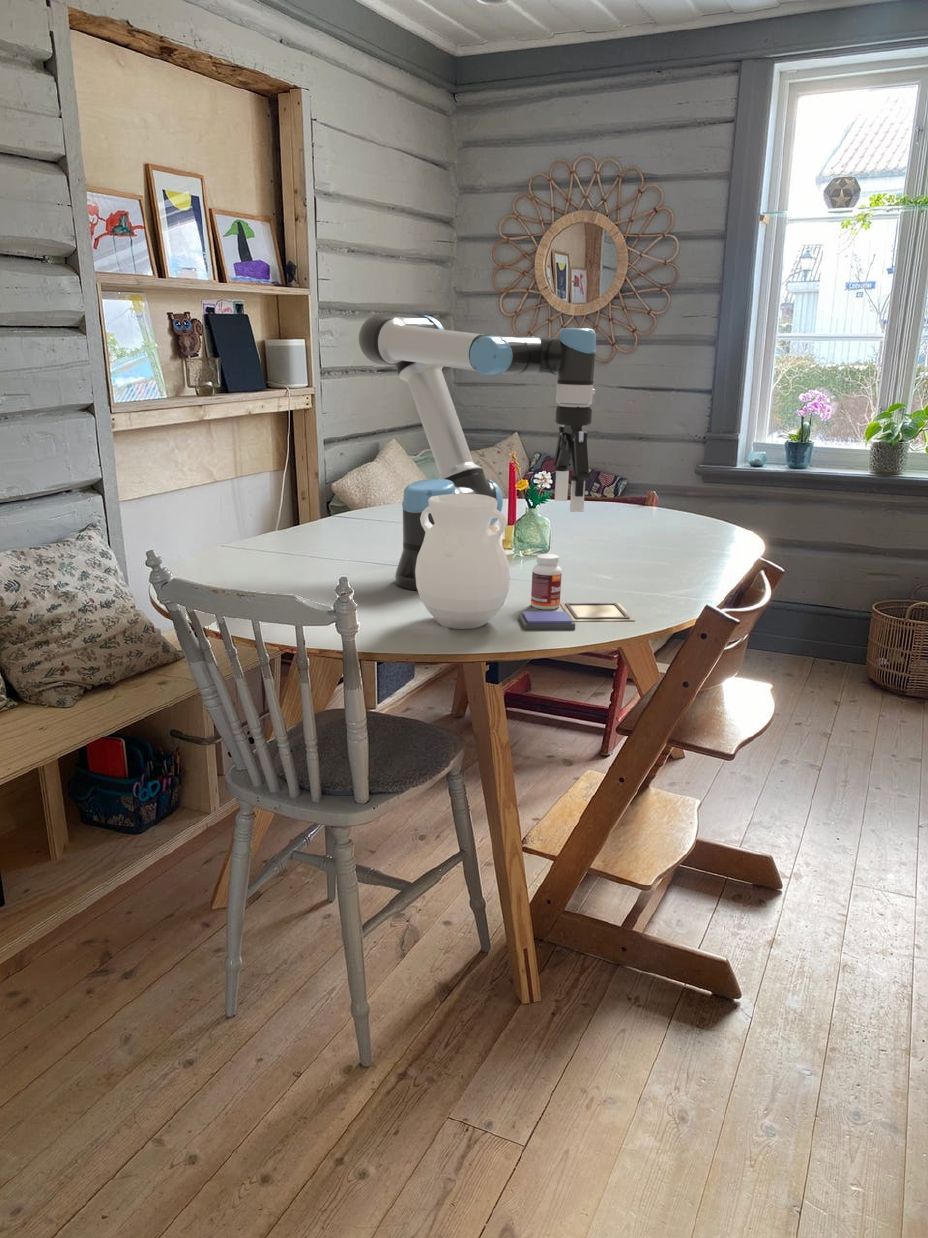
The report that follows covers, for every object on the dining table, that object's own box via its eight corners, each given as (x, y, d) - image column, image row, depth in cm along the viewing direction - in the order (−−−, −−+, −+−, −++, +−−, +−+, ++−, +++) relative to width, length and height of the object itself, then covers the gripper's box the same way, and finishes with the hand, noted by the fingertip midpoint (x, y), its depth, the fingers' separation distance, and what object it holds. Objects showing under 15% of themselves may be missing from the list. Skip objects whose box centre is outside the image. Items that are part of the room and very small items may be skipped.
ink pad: (524, 629, 186) (525, 622, 185) (518, 618, 193) (519, 610, 193) (575, 629, 187) (575, 621, 186) (567, 618, 194) (567, 610, 194)
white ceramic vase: (399, 629, 184) (399, 501, 177) (435, 606, 201) (437, 488, 194) (490, 641, 178) (494, 509, 171) (520, 616, 195) (524, 495, 187)
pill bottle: (555, 611, 199) (557, 560, 196) (527, 608, 201) (529, 557, 198) (563, 604, 204) (565, 554, 201) (535, 601, 206) (537, 551, 203)
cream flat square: (572, 621, 192) (572, 619, 192) (560, 604, 204) (560, 602, 204) (634, 621, 193) (635, 618, 193) (619, 603, 206) (619, 601, 205)
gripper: (608, 410, 187) (601, 516, 193) (576, 401, 211) (570, 496, 217) (571, 409, 186) (565, 516, 192) (543, 400, 210) (538, 496, 216)
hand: (568, 506), depth 204 cm, fingers open, 13 cm apart
